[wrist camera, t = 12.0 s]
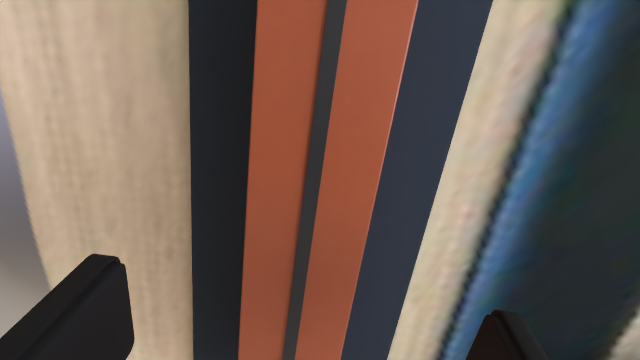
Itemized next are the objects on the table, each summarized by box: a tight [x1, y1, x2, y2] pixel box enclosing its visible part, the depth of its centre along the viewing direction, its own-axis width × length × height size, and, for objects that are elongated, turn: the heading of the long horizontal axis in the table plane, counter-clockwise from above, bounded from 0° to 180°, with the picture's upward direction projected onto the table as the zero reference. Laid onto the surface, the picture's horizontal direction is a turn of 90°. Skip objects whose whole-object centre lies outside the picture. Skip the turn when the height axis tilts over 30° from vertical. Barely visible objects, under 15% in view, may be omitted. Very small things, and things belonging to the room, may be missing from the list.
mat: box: [188, 0, 493, 360], centre depth 16 cm, size 26×11×1 cm, turn 172°
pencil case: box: [238, 0, 419, 360], centre depth 14 cm, size 19×4×4 cm, turn 172°
